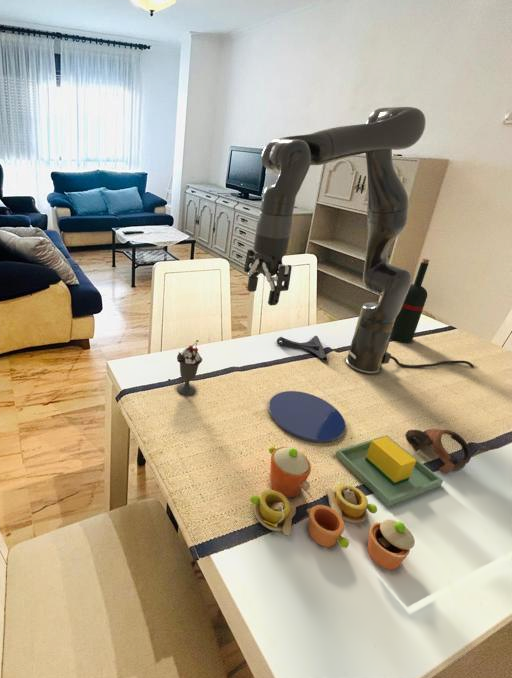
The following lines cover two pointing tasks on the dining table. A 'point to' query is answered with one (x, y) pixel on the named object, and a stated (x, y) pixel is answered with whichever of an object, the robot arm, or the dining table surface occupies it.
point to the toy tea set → (327, 511)
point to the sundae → (188, 368)
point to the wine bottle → (411, 308)
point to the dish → (381, 487)
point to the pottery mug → (439, 446)
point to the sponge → (390, 460)
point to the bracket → (306, 346)
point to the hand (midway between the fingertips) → (261, 297)
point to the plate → (306, 416)
